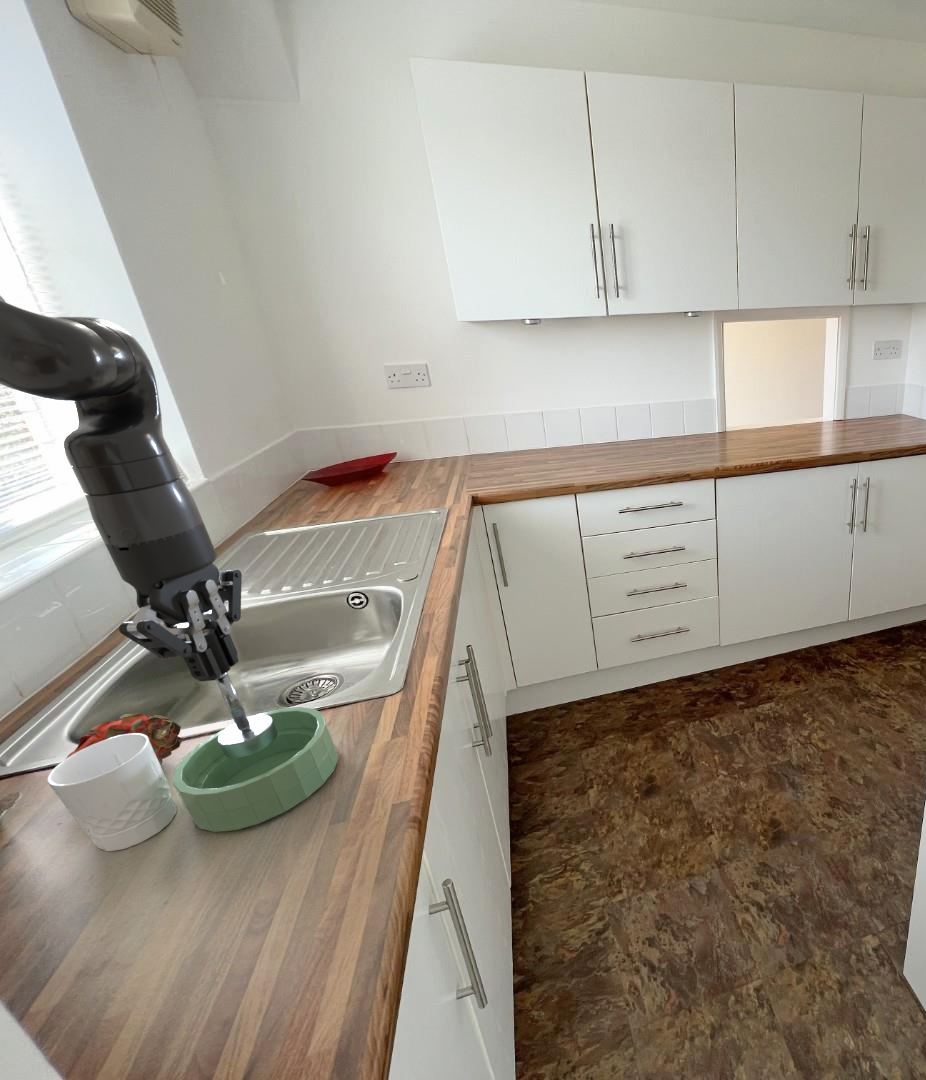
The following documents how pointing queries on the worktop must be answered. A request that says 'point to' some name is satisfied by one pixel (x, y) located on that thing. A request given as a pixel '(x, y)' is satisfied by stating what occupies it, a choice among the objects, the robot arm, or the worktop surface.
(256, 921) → the worktop surface
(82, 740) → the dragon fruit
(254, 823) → the bowl
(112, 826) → the white cup
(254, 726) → the weighted base post
